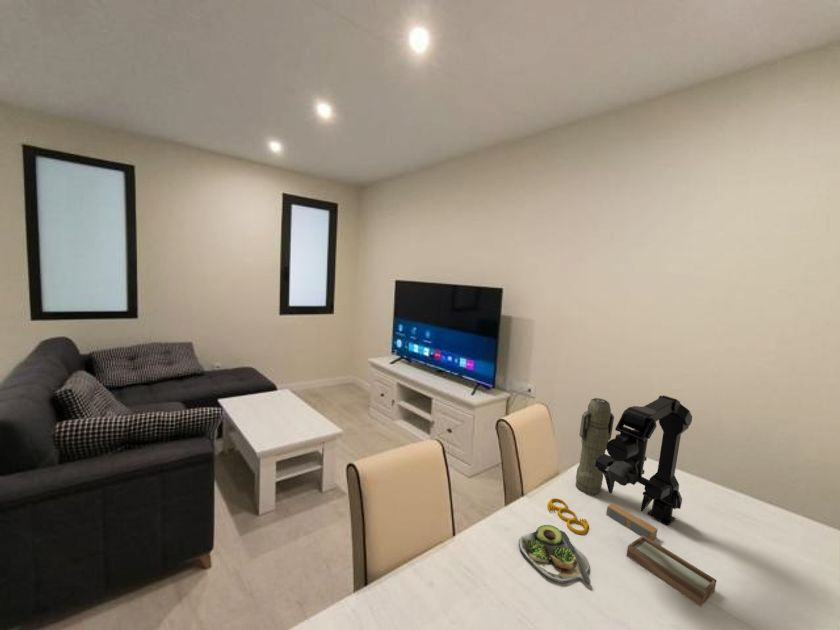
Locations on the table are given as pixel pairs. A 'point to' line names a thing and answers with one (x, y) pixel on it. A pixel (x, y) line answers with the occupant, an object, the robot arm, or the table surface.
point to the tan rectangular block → (631, 521)
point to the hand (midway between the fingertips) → (625, 501)
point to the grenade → (593, 444)
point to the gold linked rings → (568, 520)
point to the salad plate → (555, 554)
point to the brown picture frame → (672, 569)
